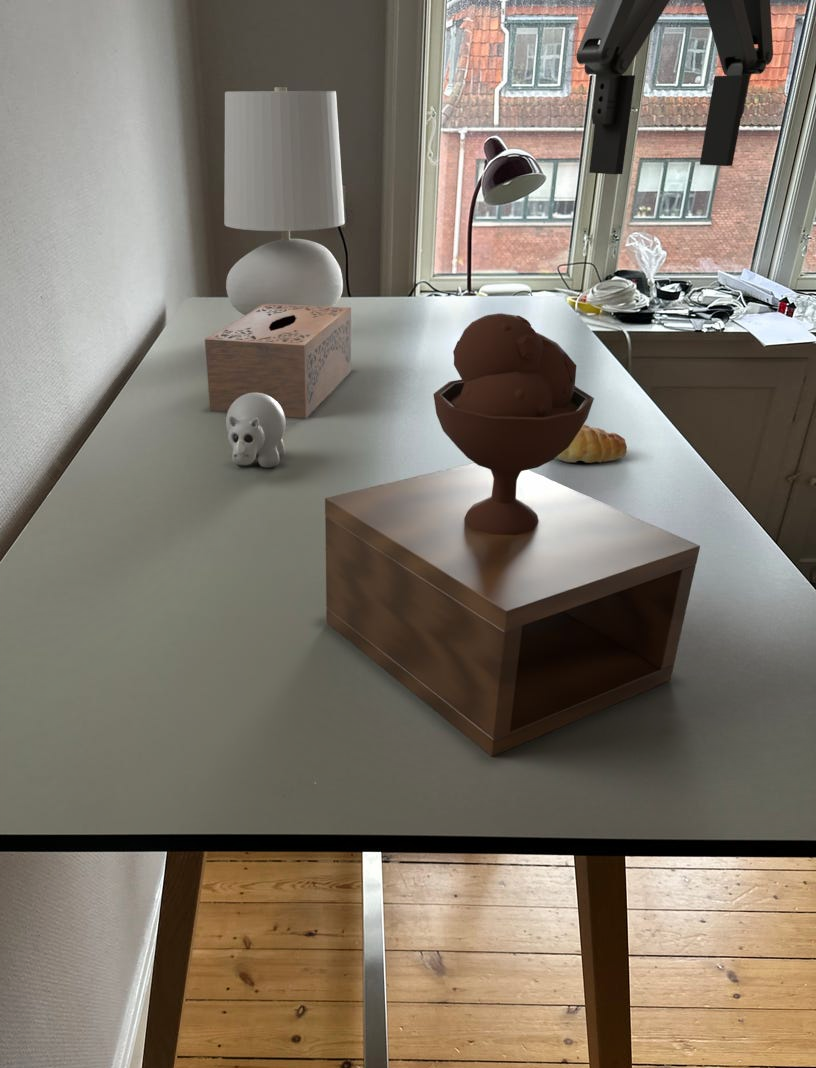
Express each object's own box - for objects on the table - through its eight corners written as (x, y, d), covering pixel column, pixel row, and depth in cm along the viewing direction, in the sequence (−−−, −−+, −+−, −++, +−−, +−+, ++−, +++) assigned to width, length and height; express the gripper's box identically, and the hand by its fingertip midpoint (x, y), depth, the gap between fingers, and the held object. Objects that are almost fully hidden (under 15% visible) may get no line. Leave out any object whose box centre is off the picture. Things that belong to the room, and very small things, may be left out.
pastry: (615, 446, 118) (620, 417, 116) (633, 465, 112) (638, 434, 110) (543, 447, 118) (547, 418, 116) (557, 466, 112) (561, 436, 110)
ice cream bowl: (526, 565, 63) (551, 340, 55) (399, 521, 69) (406, 314, 61) (602, 518, 69) (634, 312, 62) (480, 482, 76) (495, 292, 68)
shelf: (671, 680, 71) (700, 545, 65) (491, 757, 63) (507, 611, 57) (487, 572, 87) (498, 456, 81) (326, 622, 79) (324, 497, 73)
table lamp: (254, 352, 162) (241, 87, 141) (207, 328, 178) (189, 88, 157) (366, 336, 171) (369, 86, 151) (312, 316, 187) (308, 87, 167)
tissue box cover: (267, 366, 153) (264, 303, 148) (350, 371, 150) (351, 307, 145) (210, 410, 132) (204, 339, 127) (306, 418, 129) (304, 345, 124)
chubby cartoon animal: (209, 484, 107) (203, 413, 103) (237, 450, 117) (233, 383, 113) (269, 488, 106) (266, 416, 102) (292, 453, 116) (290, 386, 112)
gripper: (773, -141, 73) (720, 160, 84) (547, -183, 61) (518, 174, 72) (865, -161, 67) (795, 164, 78) (636, -212, 55) (591, 180, 66)
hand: (662, 169), depth 75 cm, fingers open, 13 cm apart
